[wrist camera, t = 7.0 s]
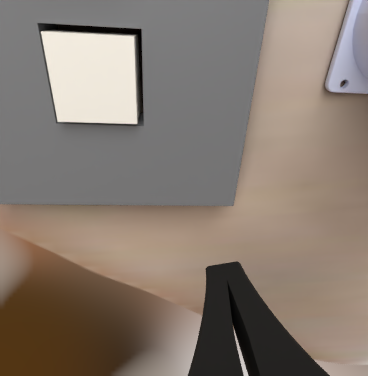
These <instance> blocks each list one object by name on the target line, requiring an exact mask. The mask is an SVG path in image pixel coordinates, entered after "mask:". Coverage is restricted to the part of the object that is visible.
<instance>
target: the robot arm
mask: <svg viewBox="0 0 368 376" xmlns="http://www.w3.org/2000/svg"><path fill="white" fill-rule="evenodd" d="M343 80H345V84H344V86H342V87H340V83H341V82H342V81H343ZM325 87H326V89H327V90H328V91H330V92H337V93H361V94H368V0H350V1H349V5H348V8H347V11H346V15H345V18H344V21H343V25H342V28H341V31H340V35H339V38H338V42H337V45H336V48H335V52H334V55H333V58H332V62H331V65H330V68H329V72H328V75H327V79H326V82H325ZM232 323H233V324H232ZM233 326H234V329H235V333H236V336H237V339H238V342H239V346H240V349H241V352H242V356H243V359H244V362H245V365H246V369H247V372H248V375H249V376H330V375H328V374H327V373H326V372H325V371H324V370H323V369H322V368H321V367H320V366H319V365H318V364H317V363H316V362H315V361H314V360H313V359H312V358H311V357H310V356H309V355H308V354H307V352H306V351H305V350H304V349H303V348H302V347H301V346H300V345H299V344H298V343H297V342H296V341H295V339H294V338H293V337H292V336H291V335H290V334H289V333H288V331H287V330H286V329H285V328H284V327H283V325H282V324H281V323H280V322H279V321H278V319H277V318H276V317H275V316H274V314H273V313H272V312H271V310H270V309H269V308H268V306H267V305H266V304H265V302H264V301H263V300H262V298H261V297H260V295H259V294H258V293H257V291H256V290H255V288H254V287H253V285H252V283H251V282H250V280H249V279H248V277H247V275H246V274H245V272H244V270H243V268H242V266H241V264H240V263H239V262H231V263H225V264H219V265H213V266H208V267H207V268H206V294H205V302H204V309H203V316H202V321H201V327H200V331H199V336H198V341H197V345H196V349H195V353H194V356H193V360H192V363H191V367H190V370H189V374H188V376H243V371H242V367H241V363H240V359H239V354H238V350H237V346H236V341H235V336H234V330H233Z"/></svg>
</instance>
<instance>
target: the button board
mask: <svg viewBox="0 0 368 376" xmlns="http://www.w3.org/2000/svg"><path fill="white" fill-rule="evenodd" d="M268 4H269V0H0V204H54V205H172V206H233V205H234V200H235V194H236V188H237V182H238V177H239V171H240V165H241V159H242V154H243V148H244V142H245V136H246V131H247V125H248V119H249V113H250V108H251V102H252V96H253V90H254V85H255V79H256V73H257V67H258V62H259V56H260V50H261V44H262V39H263V33H264V27H265V21H266V16H267V10H268ZM56 24H66V25H83V26H101V27H118V28H135V29H142V69H143V112H144V113H140V115H139V119H138V123H137V124H118V123H85V122H58V121H57V116H56V110H55V105H54V99H53V94H52V89H51V83H50V78H49V72H48V67H47V62H46V56H45V51H44V46H43V40H42V35H41V31H51V30H57V26H56Z"/></svg>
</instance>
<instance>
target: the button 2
mask: <svg viewBox="0 0 368 376" xmlns="http://www.w3.org/2000/svg"><path fill="white" fill-rule="evenodd" d="M41 35H42V40H43V46H44V51H45V56H46V62H47V67H48V72H49V78H50V83H51V89H52V94H53V99H54V105H55V110H56V116H57V121H58V122H85V123H118V124H137V123H138V119H139V115H140V111H141V104H140V68H139V34H129V33H111V32H93V31H75V30H51V31H41Z"/></svg>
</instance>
